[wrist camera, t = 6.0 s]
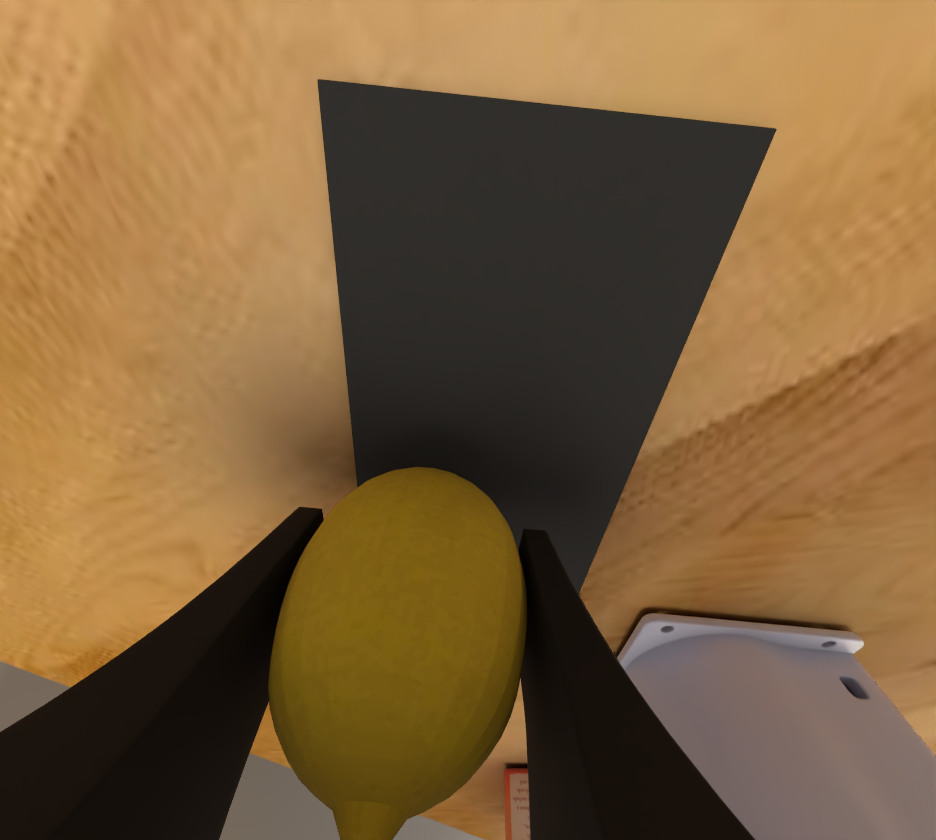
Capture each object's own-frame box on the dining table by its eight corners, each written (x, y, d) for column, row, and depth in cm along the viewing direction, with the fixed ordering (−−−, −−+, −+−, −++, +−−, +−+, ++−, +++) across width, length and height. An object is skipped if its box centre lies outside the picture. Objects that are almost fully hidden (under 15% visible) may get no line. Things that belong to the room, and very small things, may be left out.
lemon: (340, 410, 11) (78, 777, 4) (524, 421, 11) (595, 817, 4) (361, 535, 14) (233, 873, 7) (506, 544, 13) (526, 896, 7)
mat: (773, 129, 7) (777, 128, 7) (554, 647, 17) (554, 649, 17) (319, 80, 7) (317, 79, 7) (372, 630, 17) (371, 632, 17)
